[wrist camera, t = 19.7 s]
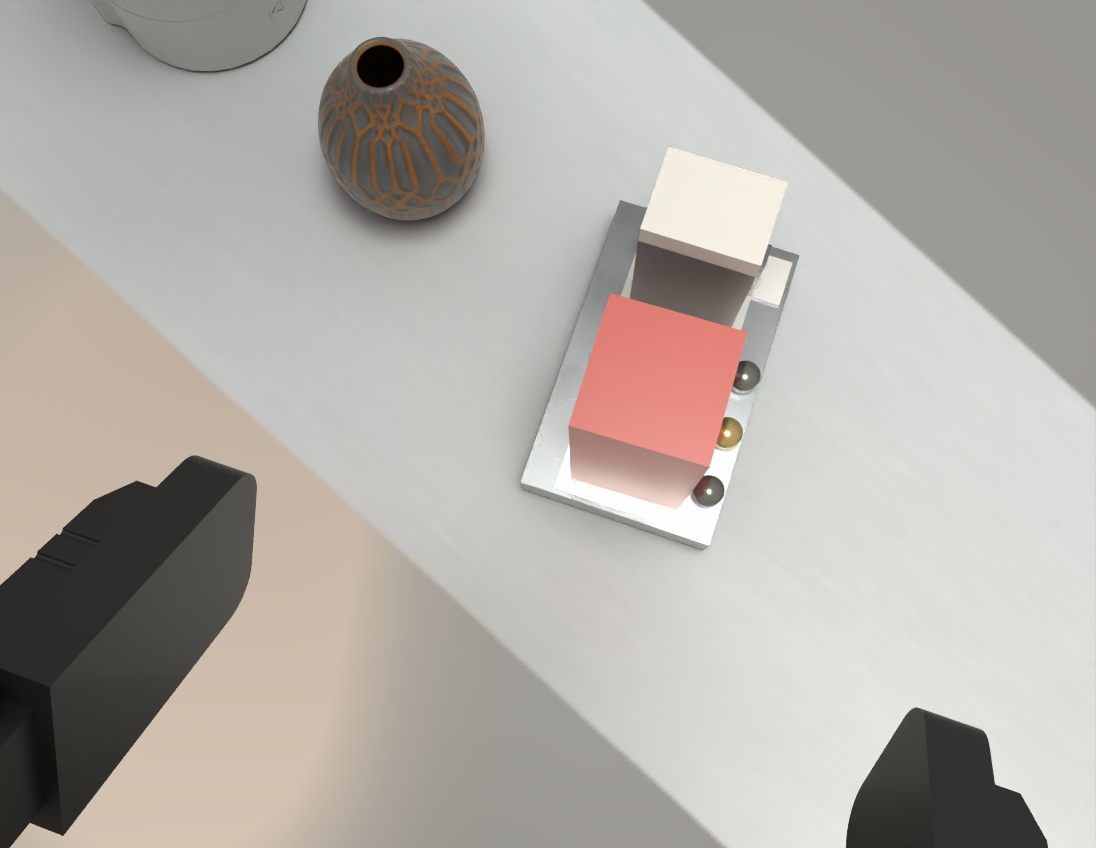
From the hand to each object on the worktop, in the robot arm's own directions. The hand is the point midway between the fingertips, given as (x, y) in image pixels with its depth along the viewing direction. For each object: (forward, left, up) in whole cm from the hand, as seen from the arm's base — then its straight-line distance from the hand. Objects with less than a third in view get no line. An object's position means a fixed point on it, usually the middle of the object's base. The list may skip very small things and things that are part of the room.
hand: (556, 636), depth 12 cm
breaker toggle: (+1, +14, -28) cm, 32 cm away
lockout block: (+1, +9, -28) cm, 30 cm away
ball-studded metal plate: (+1, +12, -31) cm, 33 cm away
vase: (-12, +19, -31) cm, 38 cm away
